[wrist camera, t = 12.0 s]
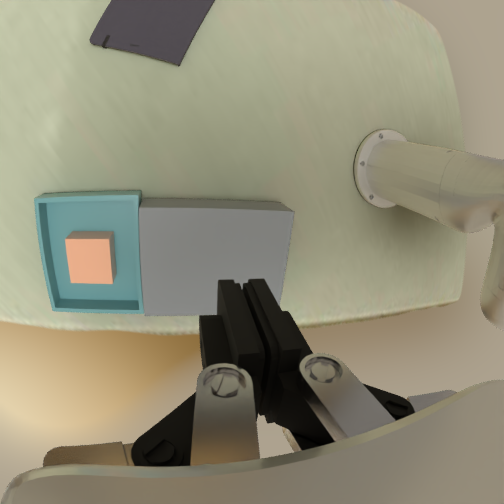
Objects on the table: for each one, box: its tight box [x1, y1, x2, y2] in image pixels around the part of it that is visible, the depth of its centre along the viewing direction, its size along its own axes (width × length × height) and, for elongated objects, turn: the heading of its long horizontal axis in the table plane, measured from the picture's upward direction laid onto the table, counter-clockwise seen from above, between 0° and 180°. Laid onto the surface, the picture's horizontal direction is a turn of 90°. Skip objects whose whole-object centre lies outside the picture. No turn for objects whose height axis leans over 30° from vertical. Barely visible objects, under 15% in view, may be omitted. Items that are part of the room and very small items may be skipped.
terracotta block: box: [65, 231, 117, 284], centre depth 33 cm, size 6×6×3 cm
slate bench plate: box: [139, 198, 294, 316], centre depth 37 cm, size 18×14×5 cm
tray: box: [34, 190, 144, 314], centre depth 33 cm, size 14×16×3 cm
